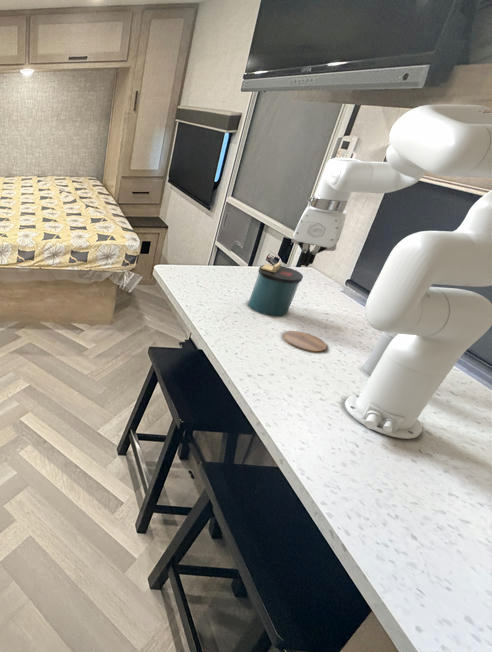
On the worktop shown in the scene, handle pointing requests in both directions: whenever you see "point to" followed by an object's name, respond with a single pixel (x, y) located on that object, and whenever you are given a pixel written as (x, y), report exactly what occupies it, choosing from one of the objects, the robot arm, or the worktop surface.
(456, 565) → the worktop surface
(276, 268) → the slider
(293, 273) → the teal cylinder tin
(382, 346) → the beverage can
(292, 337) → the coaster
